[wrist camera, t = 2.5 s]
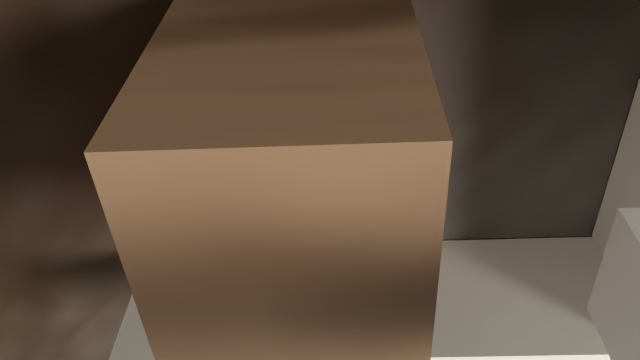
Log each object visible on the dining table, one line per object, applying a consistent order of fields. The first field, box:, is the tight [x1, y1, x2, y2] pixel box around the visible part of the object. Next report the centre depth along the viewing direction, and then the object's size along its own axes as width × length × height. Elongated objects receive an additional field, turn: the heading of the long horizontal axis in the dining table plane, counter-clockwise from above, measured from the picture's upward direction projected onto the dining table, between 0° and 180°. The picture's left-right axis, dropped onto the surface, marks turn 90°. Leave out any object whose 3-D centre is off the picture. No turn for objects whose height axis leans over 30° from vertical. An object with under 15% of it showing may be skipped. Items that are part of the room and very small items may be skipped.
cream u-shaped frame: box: [109, 78, 640, 360], centre depth 16 cm, size 17×15×5 cm
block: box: [84, 0, 453, 360], centre depth 15 cm, size 6×6×8 cm
